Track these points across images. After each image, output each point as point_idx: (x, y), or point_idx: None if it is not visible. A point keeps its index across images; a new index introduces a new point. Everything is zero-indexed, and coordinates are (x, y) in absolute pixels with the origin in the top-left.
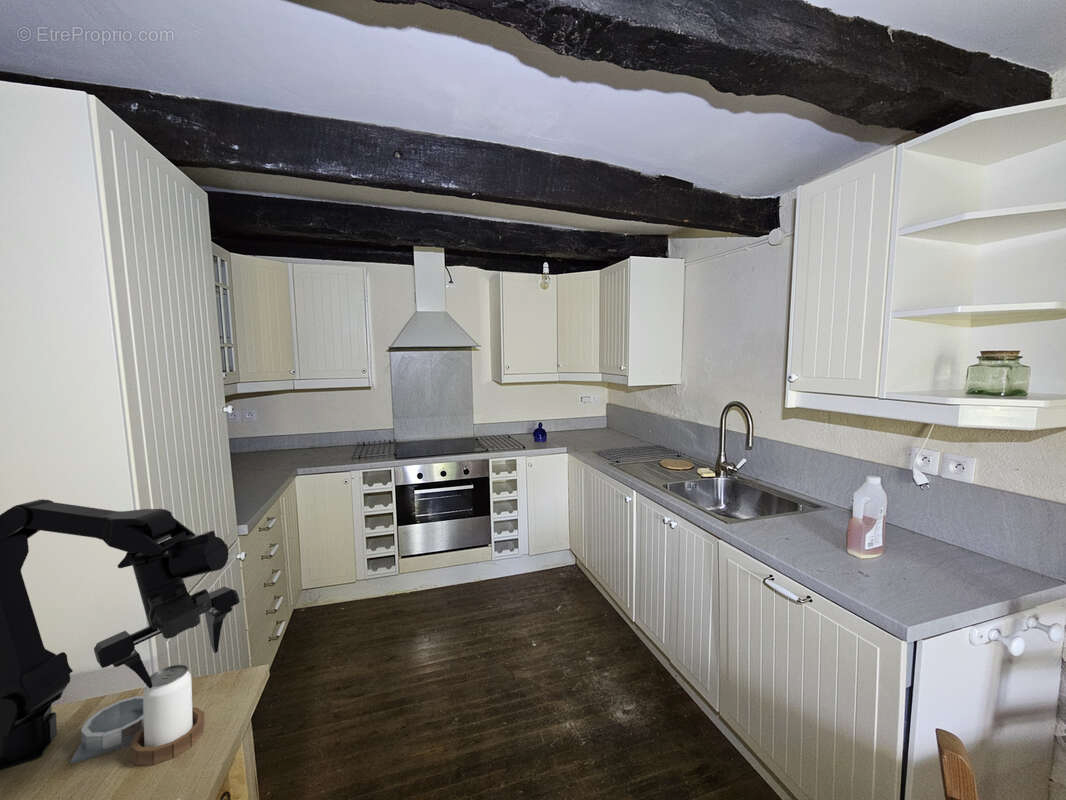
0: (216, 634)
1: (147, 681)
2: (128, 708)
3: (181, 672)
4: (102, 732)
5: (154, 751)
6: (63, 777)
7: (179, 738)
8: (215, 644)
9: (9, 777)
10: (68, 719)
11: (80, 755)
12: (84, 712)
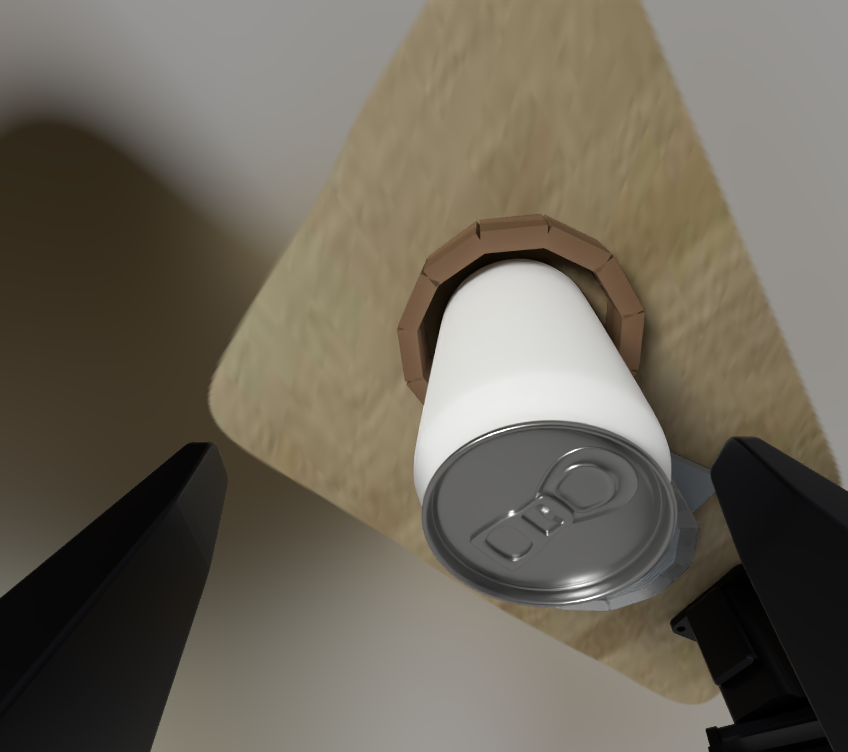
0: (23, 626)
1: (824, 487)
2: None
3: (467, 489)
4: None
5: (606, 252)
6: (760, 433)
7: (518, 241)
8: (149, 504)
9: None
10: (629, 643)
11: (700, 481)
12: (596, 640)
